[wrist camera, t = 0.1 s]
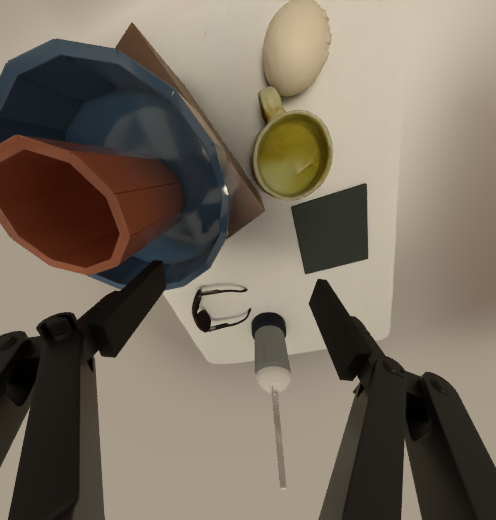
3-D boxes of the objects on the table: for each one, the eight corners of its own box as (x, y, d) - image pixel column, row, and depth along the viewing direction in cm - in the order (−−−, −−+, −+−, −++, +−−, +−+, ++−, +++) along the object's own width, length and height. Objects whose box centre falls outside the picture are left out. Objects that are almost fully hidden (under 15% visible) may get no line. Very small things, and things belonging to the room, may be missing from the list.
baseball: (325, 83, 23) (350, 53, 17) (273, 113, 25) (279, 96, 19) (311, 11, 20) (335, -54, 14) (253, 51, 22) (253, 6, 16)
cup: (140, 133, 17) (10, 92, 8) (200, 203, 19) (154, 232, 10) (97, 186, 19) (-43, 202, 10) (156, 242, 22) (88, 293, 13)
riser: (182, 83, 23) (131, 21, 14) (261, 196, 30) (265, 210, 20) (107, 174, 29) (32, 177, 19) (187, 254, 35) (162, 287, 25)
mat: (291, 206, 30) (291, 207, 30) (365, 183, 28) (366, 183, 28) (305, 273, 36) (305, 274, 36) (366, 257, 34) (368, 258, 34)
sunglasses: (191, 286, 38) (186, 301, 34) (244, 276, 39) (246, 289, 34) (203, 321, 43) (201, 338, 39) (251, 312, 43) (254, 327, 39)
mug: (333, 191, 27) (337, 190, 18) (269, 205, 31) (249, 210, 23) (325, 97, 24) (326, 42, 15) (256, 128, 28) (225, 98, 20)
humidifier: (257, 339, 46) (261, 498, 24) (247, 316, 42) (240, 479, 20) (288, 332, 44) (323, 495, 22) (280, 309, 41) (311, 474, 19)
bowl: (131, 15, 13) (62, -69, 9) (267, 211, 20) (272, 224, 15) (29, 177, 19) (-47, 179, 14) (162, 288, 25) (141, 316, 21)
